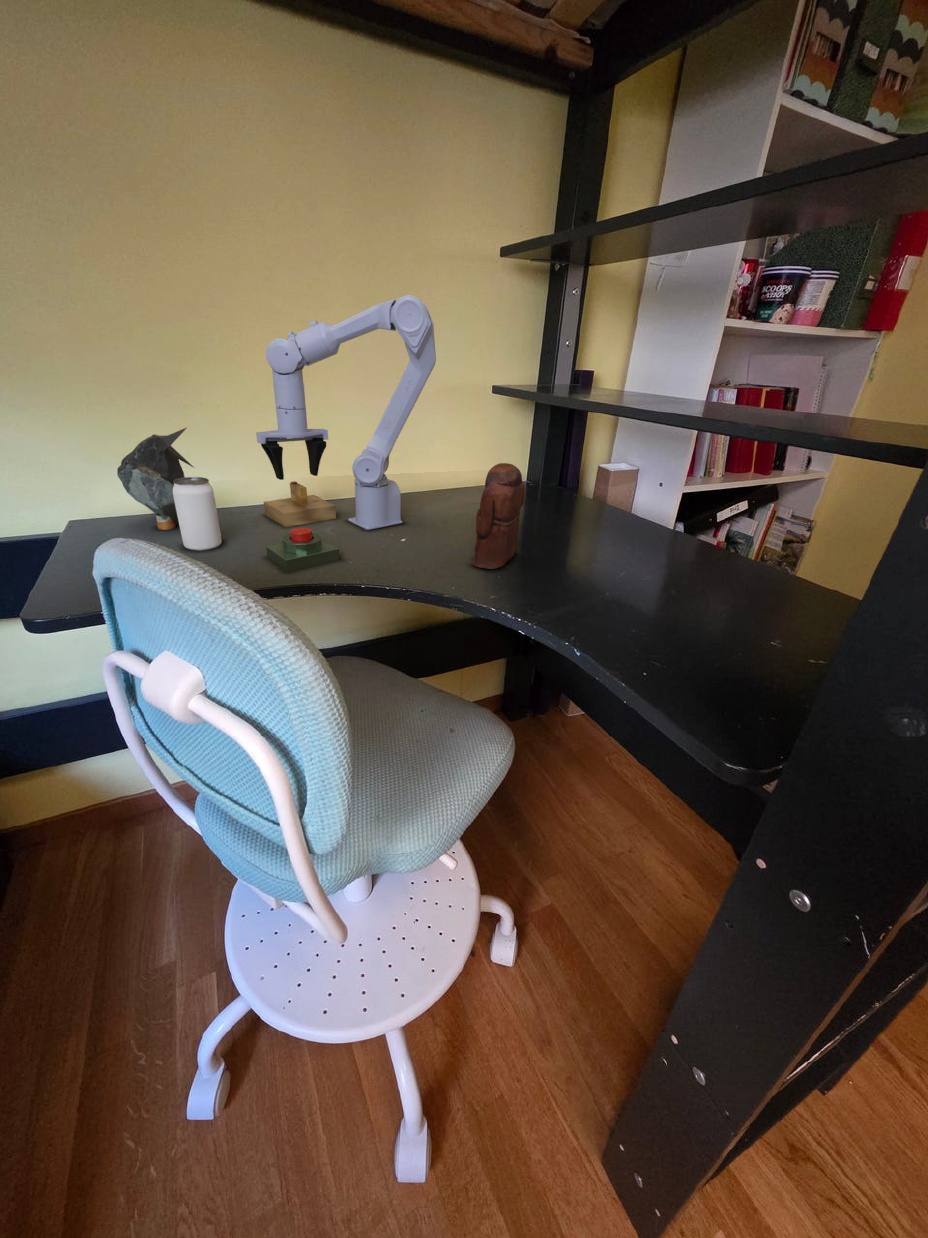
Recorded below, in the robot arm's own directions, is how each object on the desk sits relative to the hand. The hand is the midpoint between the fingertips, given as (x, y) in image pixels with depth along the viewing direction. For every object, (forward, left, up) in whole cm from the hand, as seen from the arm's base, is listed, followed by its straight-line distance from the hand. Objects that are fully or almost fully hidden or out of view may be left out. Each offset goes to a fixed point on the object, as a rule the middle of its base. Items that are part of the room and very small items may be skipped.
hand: (297, 476), depth 108 cm
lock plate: (-1, -1, -9) cm, 9 cm away
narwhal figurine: (+23, -10, -9) cm, 27 cm away
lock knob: (-1, -1, -6) cm, 6 cm away
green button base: (+10, +22, -9) cm, 26 cm away
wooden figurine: (-19, +42, -9) cm, 46 cm away
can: (+22, +6, -9) cm, 25 cm away
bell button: (+10, +22, -6) cm, 25 cm away
